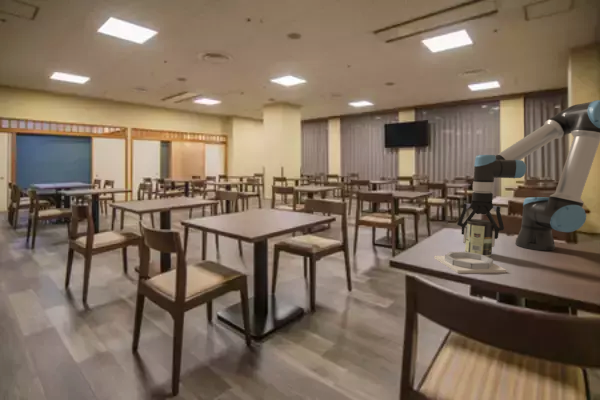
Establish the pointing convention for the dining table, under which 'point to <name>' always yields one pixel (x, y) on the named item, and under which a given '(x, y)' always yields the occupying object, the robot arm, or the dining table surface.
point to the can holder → (469, 263)
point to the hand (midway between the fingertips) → (478, 244)
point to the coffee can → (479, 237)
